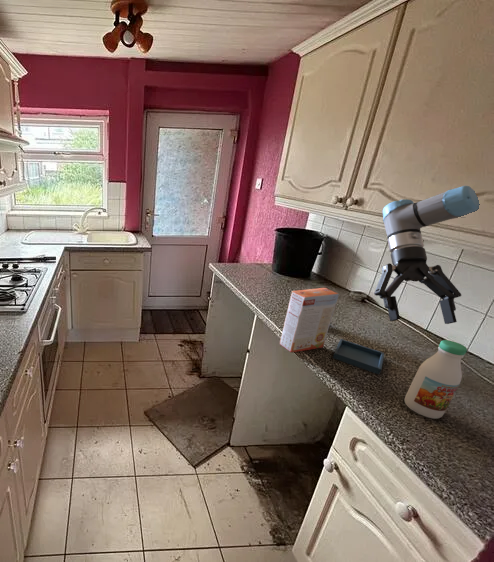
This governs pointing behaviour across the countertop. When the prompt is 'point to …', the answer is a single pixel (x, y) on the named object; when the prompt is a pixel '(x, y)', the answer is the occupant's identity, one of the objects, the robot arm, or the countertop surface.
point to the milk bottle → (436, 381)
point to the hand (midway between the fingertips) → (422, 321)
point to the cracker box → (308, 319)
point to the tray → (359, 356)
